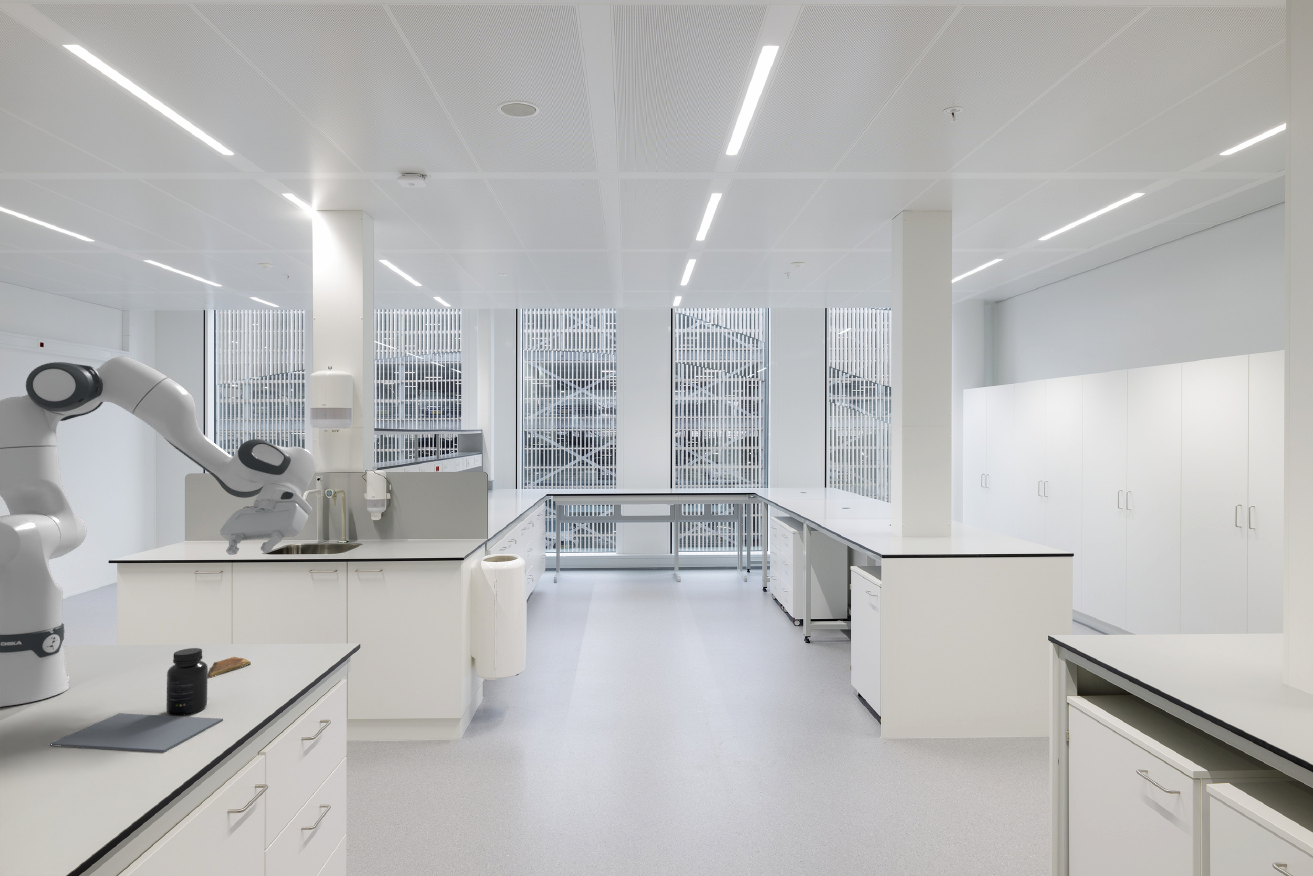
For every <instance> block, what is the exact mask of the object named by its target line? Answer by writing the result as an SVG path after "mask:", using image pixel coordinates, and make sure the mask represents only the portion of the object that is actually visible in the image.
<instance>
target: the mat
mask: <svg viewBox="0 0 1313 876" xmlns="http://www.w3.org/2000/svg"><path fill="white" fill-rule="evenodd" d="M223 721H224V718H219V717H218V718H215V717H214V718H213V717H197V716H171V715H164V714H163V715H161V714H160V715H159V714H142V713H140V714H139V713H138V714H137V713H126V712H125V713H122V712H118V713H117V714H114V715H112V716H110V717H109V716H108V717H107V718H105V719H103V720H100V721H98V722H96V723H93V724H91V725H89V726H87V727H84V728H81V729H80V730H77V731H74V732H72V733H70V734H68V735H66V736H63V737H61V738H59V739H56V740H55V741H52V742H50V743H49V745H51V744H52V745H61V746H60V747H65V746H73V747H72V748H82V747H88V748H87V749H99V748H100V749H101V750H117V749H122V750H121V751H134V750H135V752H136V751H138V752H152V753H153V752H154V753H166V752H167V750H168V751H169V749H170V750H171V749H174V748H175V747H177V746H179V745H180V744H183V743H184V742H186V741H188V740H190V739H192V738H195V736H198V735H199V734H202V732H204V731H205V732H206V731H207V730H208V728H209V729H210V728H212V727H215V726H216V725H218V724H219V723H221V722H223ZM206 729H207V730H206ZM100 749H99V750H100Z"/></svg>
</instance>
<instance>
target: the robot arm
mask: <svg viewBox="0 0 1313 876" xmlns="http://www.w3.org/2000/svg"><path fill="white" fill-rule="evenodd" d="M25 389H26V393H27V394H25V395H23V396H11V397H5V398H3V399H1V400H0V497H1V499H2V500H3V501H4V502H5V503H4V504H5V505H6V507H7V509H8V512H9V514H5V515H0V708H1V707H2V708H3V707H8V706H14V705H21V704H27V703H32V702H36V701H40V700H44V699H47V698H50V697H54V696H56V695H58V694H62V693H64V692H66V691H67V690H68V689H69V688H70V684H69V682H70V681H71V679H70V675H67V666H66V665H67V664H66V655H65V654H66V653H65V647H64V646H63V645H62V644H63V642H64V639H65V632H66V630H65V624H64V623H63V622H62V621H63V620H62V619H63V599H64V598H63V595H64V591H63V588H62V586H61V585H60V584H59V583H58V582H56V581H55V579H54V578H53V575H52V572H51V569H50V564H49V561H50V560H53V559H57V558H61V557H62V556H65V555H67V554H69V553H71V552H72V551H74V550H76V549H77V548H78V547H80V546H81V544H82V543H83V542H84V541H85V539H86V537H87V532H88V531H87V526H86V523H85V521H84V520H83V519H82V518H81V517H80V516H79V515H78V514H77V513H76V512H75V511H74V509H73V508H72V506H71V503H70V501H69V499H68V496H67V495H66V494H67V493H66V492H65V489H64V486H63V482H62V478H61V469H60V468H61V467H60V461H59V460H60V459H59V451H58V450H59V449H58V440H57V438H58V437H57V427H58V424H59V422H64V421H68V420H71V419H75V418H78V417H83V416H87V415H88V414H90V413H93V412H94V411H96V410H98V409H99V408H100V407H101V406H102V405H103V403H104V402H105V403H106V402H107V403H111V404H114V405H116V406H118V407H120V408H122V409H124V410H125V411H126V412H128V413H130V414H132V415H134V416H135V417H136V418H138V419H139V420H141V421H142V422H144V423H145V424H147V425H149V426H150V427H151V428H152V429H153V430H155V431H156V432H157V433H158V434H159V435H161V436H162V437H163V439H165V440H166V441H167V442H168V443H169V444H170V445H171V446H172V447H173V448H174V449H176V450H177V451H179V452H180V453H181V454H183V455H184V456H185V457H187V458H188V459H189V460H190V461H192V462H193V463H195V464H196V465H198V466H199V467H200V468H202V469H203V470H204V471H206V472H207V473H209V474H210V475H211V476H212V477H213V478H214V480H216V481H217V483H218V484H219V486H221V488H222V489H223V490H224V491H225V492H226V493H228V494H229V495H231V496H234V497H236V498H242V499H246V498H252V497H255V496H256V497H255V499H254V501H253V505H251V506H243V507H242V508H239V509H237V510H236V511H234V512H233V513H232V514H231V515H230V517H228V518H227V520H226V521H225V523H224V524H223V525H222V527H221V528H220V530H219V532H220V536H222V538H224V539H225V540H226V541H228V546H227V548H226V550H225V552H226V553H227V554H228V555H229V556H232V555H237V554H238V552H239V550H240V548H239V547H238V545H239V544H240V543H241V541H252V540H253V541H255V540H256V541H257V540H266V542H265V541H263V543H262V545H261V546H260V551H262V552H263V553H271V552H272V550H273V548H274V547H275V546H276V545H278V544H279V543H280V542H281V541H282V540H283V538H293V537H294V538H295V537H297V536H298V535H299V534H301V532H303V530H304V528H305V526H306V523H307V521H308V519H309V515H310V514H311V513H312V512H313V508H312V506H311V505H310V504H309V503H308V501H307V500H306V499H305V498H304V497H302V495H303V494H304V493H305V492H306V491H307V490H308V488H309V486H310V484H311V482H312V480H313V478H314V475H315V474H316V473H315V472H316V470H317V461H316V458H315V456H314V455H313V454H312V453H311V452H310V451H309V450H308V449H306V448H304V447H300V446H290V447H289V446H287V447H286V446H281V445H276V444H274V443H272V442H270V441H268V440H265V439H262V438H254V439H253V438H252V439H249V440H246V441H244V442H243V443H241V445H240V446H239V447H238V449H237V450H236V452H235V453H234V455H231V454H230V453H228V452H227V451H225V450H224V449H223V448H222V447H220V446H219V445H217V444H216V443H215V442H213V440H211V439H210V438H208V437H207V436H206V435H205V434H204V433H203V432H202V430H201V428H200V426H199V422H198V419H197V409H196V408H197V407H196V403H195V399H194V397H193V395H192V394H191V393H190V392H189V391H187V390H188V389H186V388H184V387H183V386H182V385H181V384H179V383H178V382H176V381H175V380H173V379H172V378H170V377H168V375H165V374H164V373H162V372H161V371H158V370H157V369H155V368H153V367H152V366H149V365H147V364H145V363H144V362H141V361H139V360H136V359H134V358H132V357H129V356H125V355H124V356H116V357H113V358H110V359H108V360H107V361H105V362H104V363H103V364H101V365H100V366H99V367H98V368H94V367H93V366H91V365H88V364H87V365H85V364H84V365H83V364H78V363H72V362H63V361H62V362H61V361H58V362H57V361H54V362H48V363H44V364H40V365H39V366H37V367H35V368H34V369H33V370H31V372H30V373H29V374H28V376H27V378H26V380H25ZM267 539H268V540H267Z"/></svg>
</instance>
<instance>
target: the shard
mask: <svg viewBox="0 0 1313 876" xmlns="http://www.w3.org/2000/svg"><path fill="white" fill-rule="evenodd" d="M251 663H252V662H251V661H250V660H249V659H247V658H242V657H236V656H231V657H228V658H225V659H221V660H218V661H215V662H213V663H212V666H211V667H210V672H209V673H208V676H209V677H210V678H213V677H212V676H214V677H216V676H215V675H217V676H219V675H218V674H220V675H222V674H221V673H223V674H225V673H224V672H226V673H228V672H227V671H229V672H231V671H234V669H235V670H238V669H241V668H243V667H242V666H245V667H247V666H246V665H248V664H250V665H251ZM248 666H249V665H248ZM240 667H241V668H240ZM237 668H238V669H237ZM230 670H231V671H230Z"/></svg>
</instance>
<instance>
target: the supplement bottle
mask: <svg viewBox="0 0 1313 876" xmlns="http://www.w3.org/2000/svg"><path fill="white" fill-rule="evenodd" d="M172 656H173V659H172V663H173V665H172V666H170V667H169V668H168V670H167V672H166V707H165V708H166V713H167V715H168V716H182V717H185V716H189V715H194V714H197V713H199V712H201V711H203V710H204V709H205V708H206V707H207V705H208V676H209V673H208V670H209V669H208V668H209V667H208V664H207V663H206V662H204V661H203V649H202V648H199V647H191V648H189V647H188V648H186V649H185V648H184V649H180V650H177V651H174V653H173V655H172Z"/></svg>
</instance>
